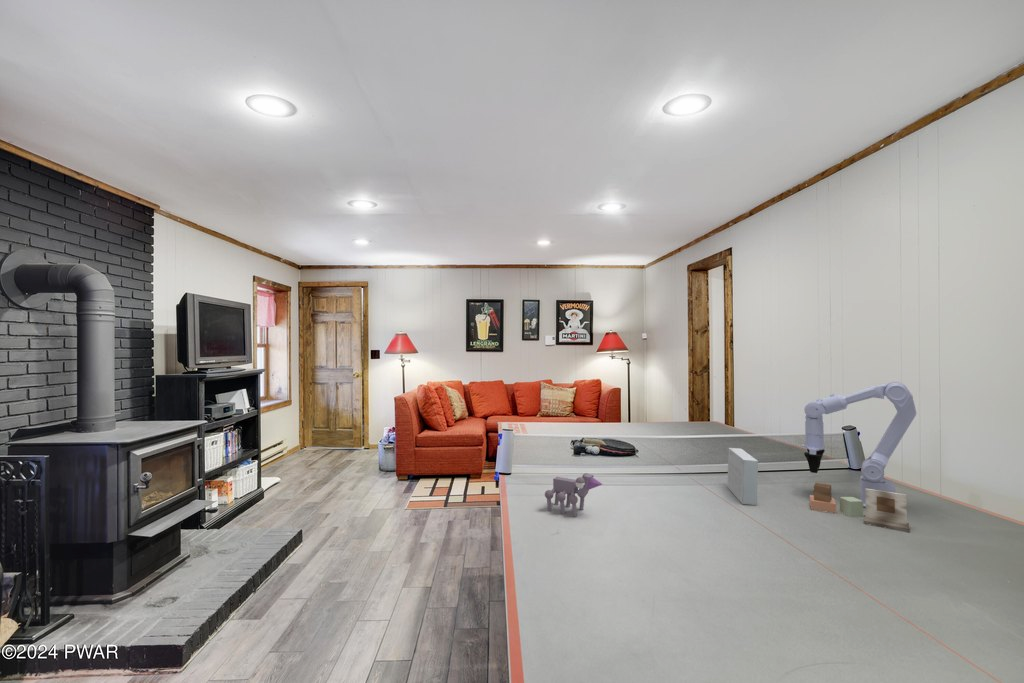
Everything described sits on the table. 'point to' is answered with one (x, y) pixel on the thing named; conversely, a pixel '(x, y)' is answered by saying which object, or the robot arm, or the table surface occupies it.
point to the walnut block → (822, 492)
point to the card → (886, 510)
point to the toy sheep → (571, 491)
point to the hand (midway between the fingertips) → (814, 470)
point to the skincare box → (742, 476)
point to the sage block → (851, 506)
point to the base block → (823, 505)
